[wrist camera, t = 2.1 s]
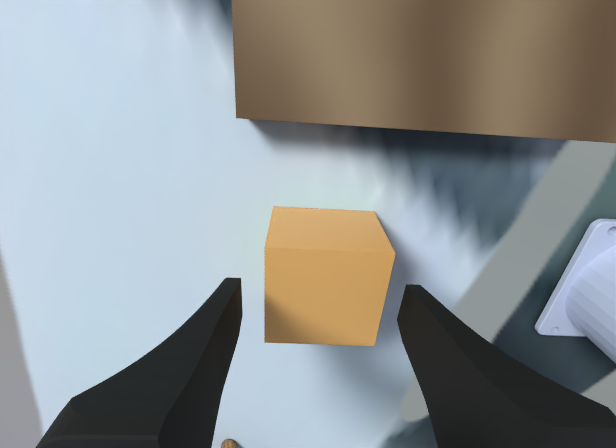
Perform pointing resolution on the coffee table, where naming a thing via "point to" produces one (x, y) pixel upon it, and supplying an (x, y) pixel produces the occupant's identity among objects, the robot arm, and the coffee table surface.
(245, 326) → the coffee table surface
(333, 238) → the tan rounded cube
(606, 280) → the robot arm
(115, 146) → the coffee table surface
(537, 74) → the walnut board
